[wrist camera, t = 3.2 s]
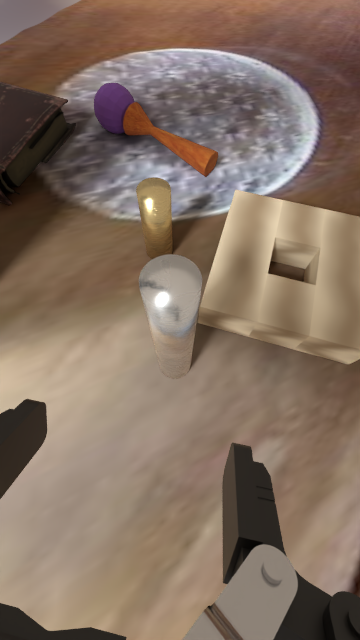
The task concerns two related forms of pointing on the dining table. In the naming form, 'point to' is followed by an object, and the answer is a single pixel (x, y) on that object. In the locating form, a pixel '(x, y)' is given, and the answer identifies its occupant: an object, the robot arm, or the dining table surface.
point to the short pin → (156, 216)
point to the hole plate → (282, 293)
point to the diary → (28, 133)
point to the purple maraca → (146, 126)
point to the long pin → (172, 309)
